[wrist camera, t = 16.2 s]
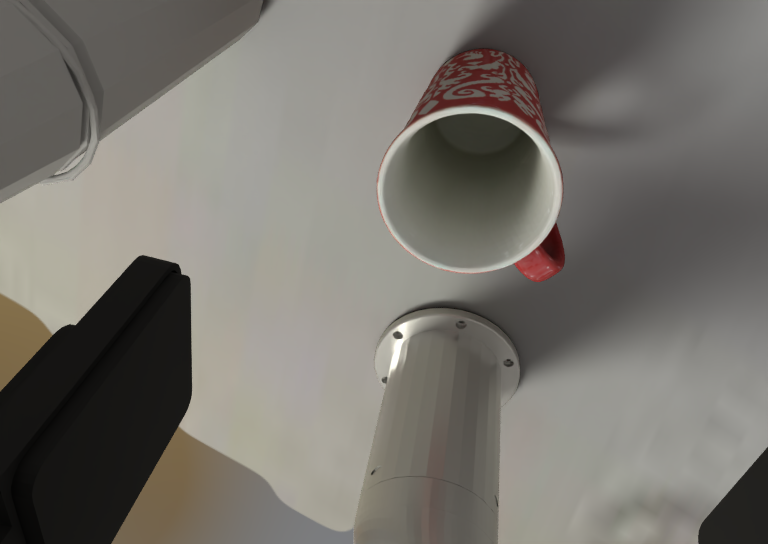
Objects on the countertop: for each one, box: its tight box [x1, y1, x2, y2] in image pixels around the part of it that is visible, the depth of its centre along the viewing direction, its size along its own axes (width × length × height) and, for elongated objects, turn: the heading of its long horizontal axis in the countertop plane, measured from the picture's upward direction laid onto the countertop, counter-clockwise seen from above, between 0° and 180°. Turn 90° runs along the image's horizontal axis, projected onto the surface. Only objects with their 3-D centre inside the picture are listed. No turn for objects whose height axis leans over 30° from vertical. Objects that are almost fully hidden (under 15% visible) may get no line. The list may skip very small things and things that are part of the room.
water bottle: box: [0, 0, 263, 203], centre depth 30 cm, size 9×8×25 cm
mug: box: [377, 49, 565, 282], centre depth 36 cm, size 13×9×14 cm
